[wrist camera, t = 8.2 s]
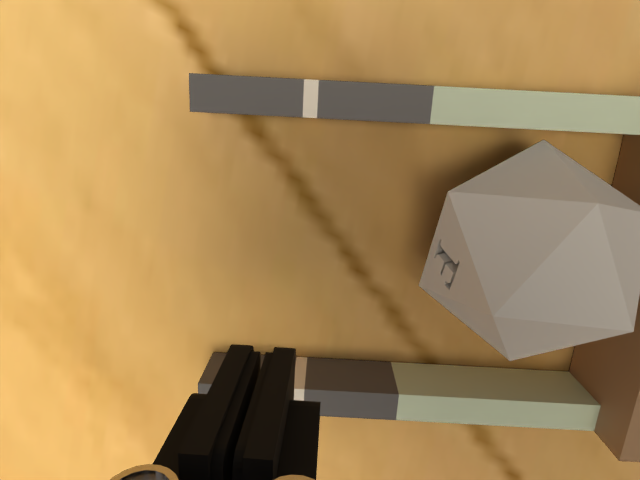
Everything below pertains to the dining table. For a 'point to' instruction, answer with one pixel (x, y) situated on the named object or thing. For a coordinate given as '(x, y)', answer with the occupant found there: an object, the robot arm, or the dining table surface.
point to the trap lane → (451, 380)
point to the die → (537, 255)
